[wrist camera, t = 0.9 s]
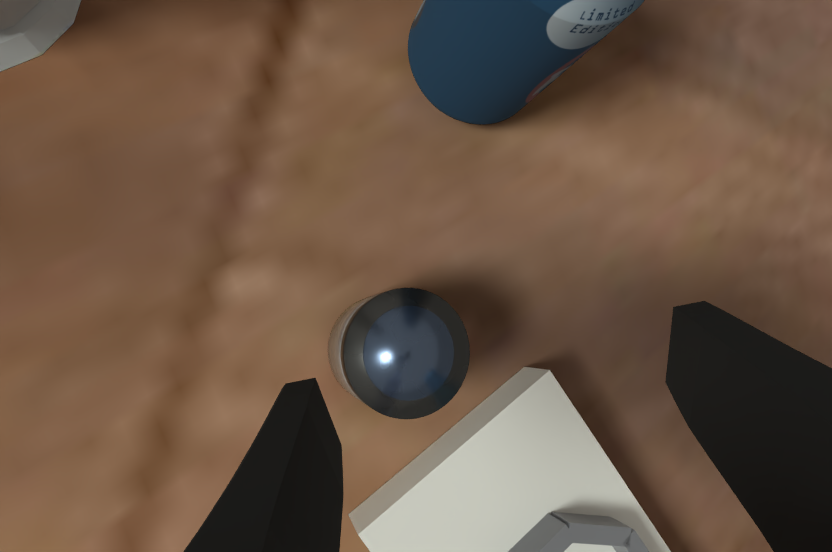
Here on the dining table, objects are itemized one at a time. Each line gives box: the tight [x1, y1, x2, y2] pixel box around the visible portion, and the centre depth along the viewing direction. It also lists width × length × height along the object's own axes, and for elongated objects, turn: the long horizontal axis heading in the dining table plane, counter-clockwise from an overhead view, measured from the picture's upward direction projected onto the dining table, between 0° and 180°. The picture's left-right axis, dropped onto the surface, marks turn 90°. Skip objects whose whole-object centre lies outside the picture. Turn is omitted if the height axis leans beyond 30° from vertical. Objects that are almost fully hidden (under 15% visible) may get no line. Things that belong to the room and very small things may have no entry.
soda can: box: [408, 0, 644, 124], centre depth 22 cm, size 7×7×12 cm
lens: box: [328, 288, 470, 419], centre depth 23 cm, size 5×5×5 cm
